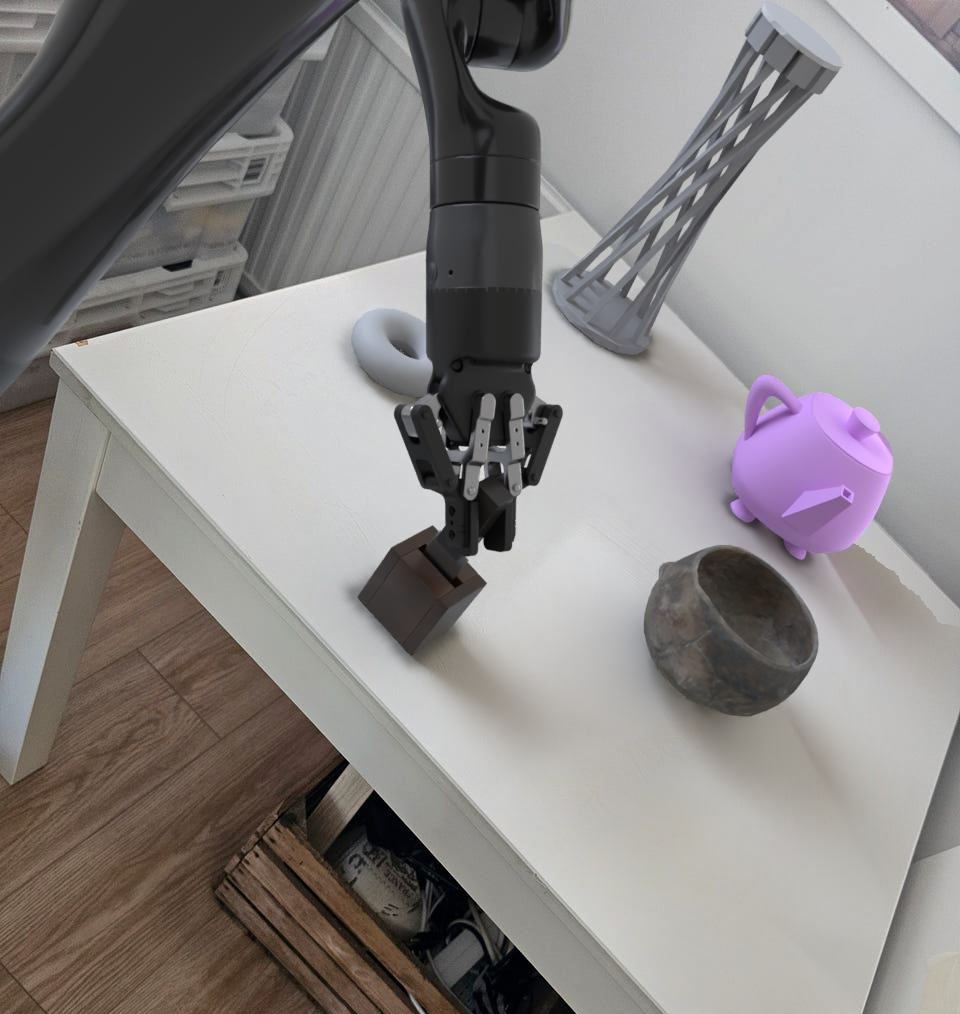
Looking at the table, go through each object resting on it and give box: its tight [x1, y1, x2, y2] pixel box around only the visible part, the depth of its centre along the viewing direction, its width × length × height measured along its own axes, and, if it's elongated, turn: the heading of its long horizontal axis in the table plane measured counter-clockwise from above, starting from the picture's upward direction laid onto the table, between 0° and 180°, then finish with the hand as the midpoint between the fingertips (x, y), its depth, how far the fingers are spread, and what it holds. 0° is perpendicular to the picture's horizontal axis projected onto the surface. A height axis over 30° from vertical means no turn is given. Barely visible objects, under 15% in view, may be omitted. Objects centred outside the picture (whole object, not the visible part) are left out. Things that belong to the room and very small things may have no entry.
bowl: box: [643, 544, 819, 718], centre depth 89 cm, size 14×15×10 cm
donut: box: [350, 307, 433, 398], centre depth 95 cm, size 10×4×10 cm
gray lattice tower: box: [551, 0, 844, 356], centre depth 112 cm, size 14×13×35 cm
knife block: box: [357, 524, 488, 656], centre depth 77 cm, size 6×5×6 cm
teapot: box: [730, 374, 894, 560], centre depth 109 cm, size 20×20×15 cm
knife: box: [422, 475, 514, 584], centre depth 74 cm, size 3×2×14 cm, turn 51°
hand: (481, 551), depth 71 cm, fingers closed on knife, 2 cm apart
